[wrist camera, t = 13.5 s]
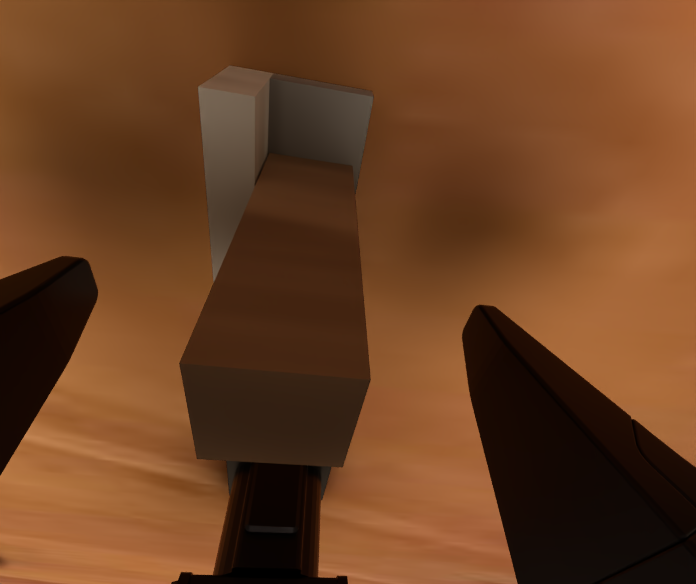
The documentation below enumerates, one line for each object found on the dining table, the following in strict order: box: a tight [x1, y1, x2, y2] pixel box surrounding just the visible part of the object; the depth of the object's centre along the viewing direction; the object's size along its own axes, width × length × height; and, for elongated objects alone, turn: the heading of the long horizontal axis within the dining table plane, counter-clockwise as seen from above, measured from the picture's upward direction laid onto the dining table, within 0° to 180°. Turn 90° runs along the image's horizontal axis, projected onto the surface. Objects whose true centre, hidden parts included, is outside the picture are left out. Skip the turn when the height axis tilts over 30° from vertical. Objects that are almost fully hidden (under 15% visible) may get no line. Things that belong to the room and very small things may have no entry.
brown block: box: [179, 65, 374, 467], centre depth 9 cm, size 6×4×9 cm, turn 171°
